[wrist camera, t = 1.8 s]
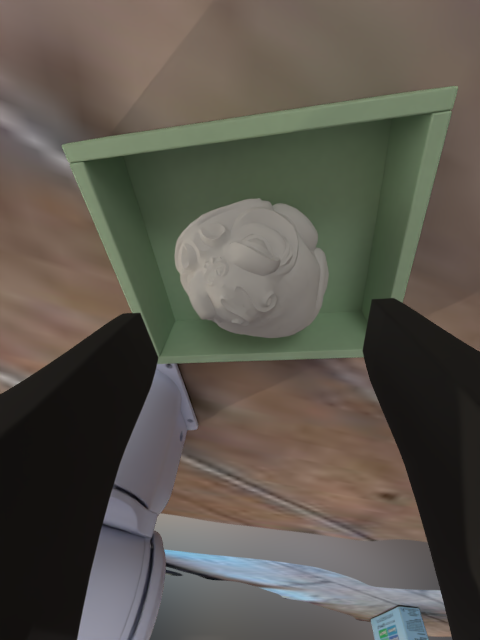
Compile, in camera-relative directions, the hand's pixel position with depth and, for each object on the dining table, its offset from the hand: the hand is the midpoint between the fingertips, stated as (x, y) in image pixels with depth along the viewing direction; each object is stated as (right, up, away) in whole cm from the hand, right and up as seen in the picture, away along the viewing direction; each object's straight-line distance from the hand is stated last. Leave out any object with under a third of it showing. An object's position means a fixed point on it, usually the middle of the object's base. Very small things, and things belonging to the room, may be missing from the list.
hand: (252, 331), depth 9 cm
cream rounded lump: (+1, +5, +6) cm, 8 cm away
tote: (+1, +5, +7) cm, 8 cm away
